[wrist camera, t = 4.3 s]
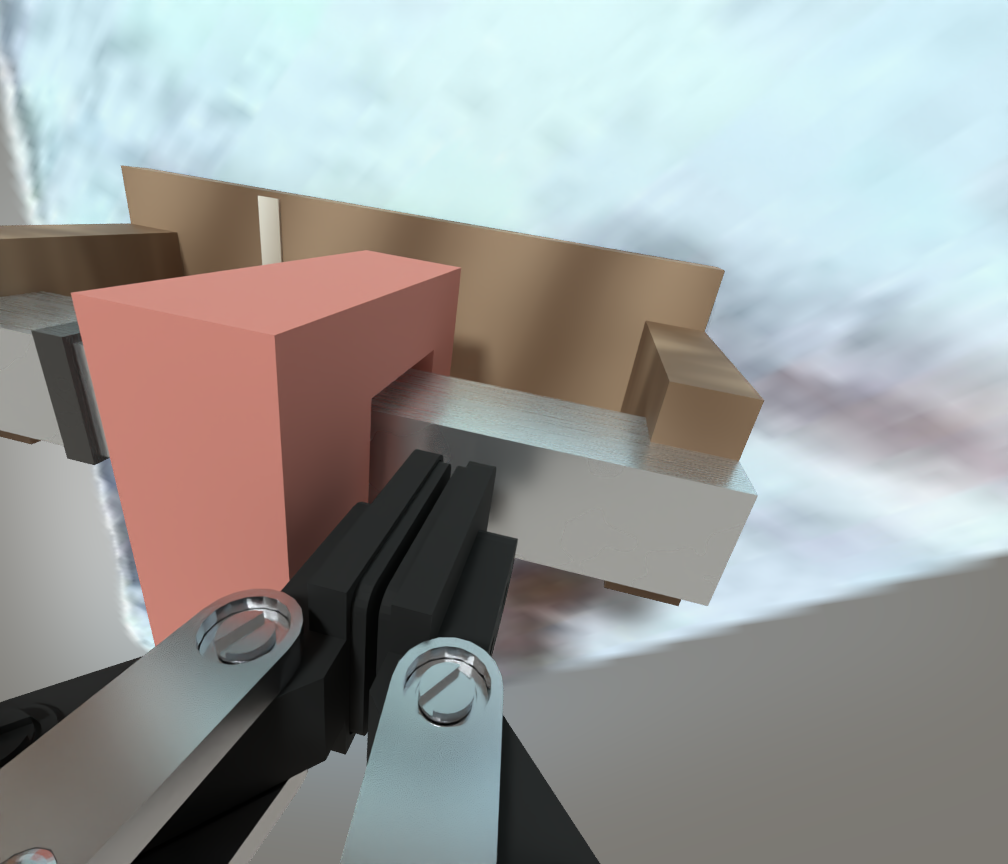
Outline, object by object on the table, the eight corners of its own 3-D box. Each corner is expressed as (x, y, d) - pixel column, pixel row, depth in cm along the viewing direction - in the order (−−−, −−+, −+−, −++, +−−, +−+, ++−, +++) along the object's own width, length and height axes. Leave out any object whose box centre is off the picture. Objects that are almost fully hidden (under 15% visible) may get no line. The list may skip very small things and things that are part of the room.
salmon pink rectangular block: (461, 267, 14) (273, 335, 6) (437, 492, 18) (297, 724, 10) (366, 250, 15) (70, 293, 6) (361, 474, 18) (164, 683, 10)
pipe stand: (717, 267, 17) (803, 306, 9) (638, 505, 21) (656, 657, 14) (148, 168, 19) (-131, 139, 12) (184, 401, 23) (-4, 483, 16)
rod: (724, 423, 12) (765, 492, 9) (683, 529, 14) (706, 618, 11) (-9, 271, 15) (-170, 286, 12) (23, 376, 16) (-112, 413, 13)
